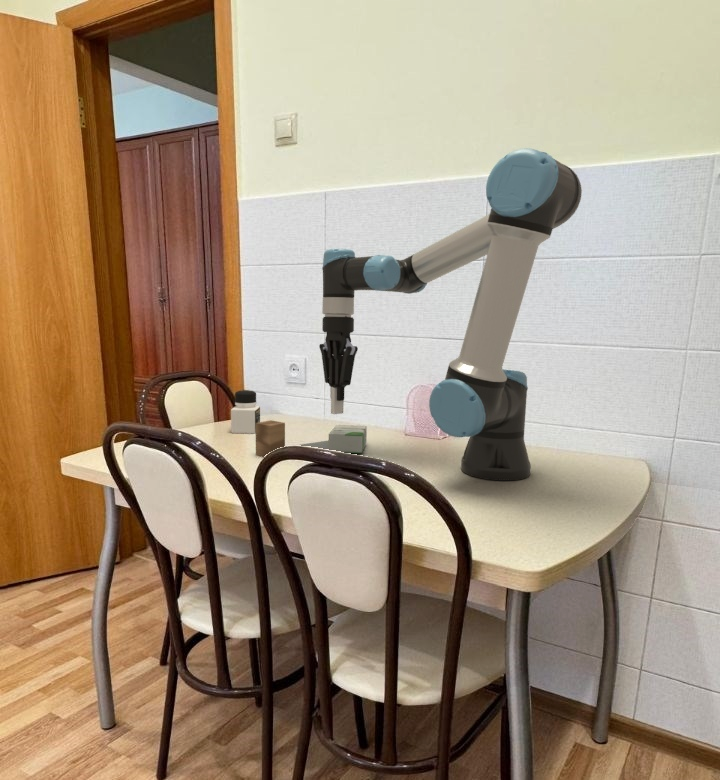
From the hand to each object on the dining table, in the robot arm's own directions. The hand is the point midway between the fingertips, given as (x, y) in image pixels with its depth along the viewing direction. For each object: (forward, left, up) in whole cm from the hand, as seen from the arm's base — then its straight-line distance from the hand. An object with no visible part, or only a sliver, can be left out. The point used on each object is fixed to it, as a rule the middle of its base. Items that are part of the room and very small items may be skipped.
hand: (337, 413), depth 137 cm
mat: (+7, +1, -10) cm, 12 cm away
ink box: (-1, -2, -8) cm, 8 cm away
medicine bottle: (+38, +6, -11) cm, 40 cm away
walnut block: (+9, +13, -11) cm, 19 cm away
